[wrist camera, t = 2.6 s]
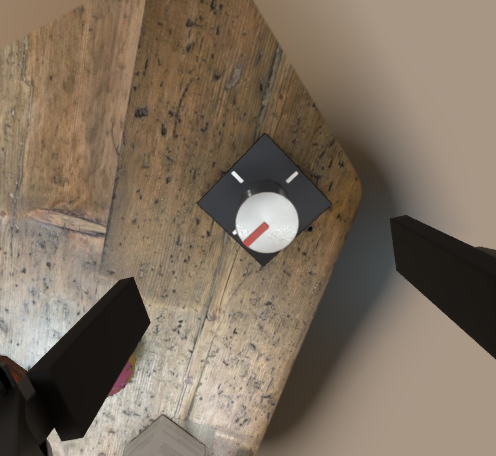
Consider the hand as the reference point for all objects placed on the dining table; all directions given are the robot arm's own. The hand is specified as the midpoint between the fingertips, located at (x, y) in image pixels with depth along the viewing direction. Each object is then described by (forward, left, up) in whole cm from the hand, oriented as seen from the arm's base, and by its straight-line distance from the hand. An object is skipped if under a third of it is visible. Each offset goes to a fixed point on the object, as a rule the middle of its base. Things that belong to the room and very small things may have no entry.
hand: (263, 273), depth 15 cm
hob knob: (-1, 0, -17) cm, 17 cm away
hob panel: (-1, 0, -21) cm, 21 cm away
